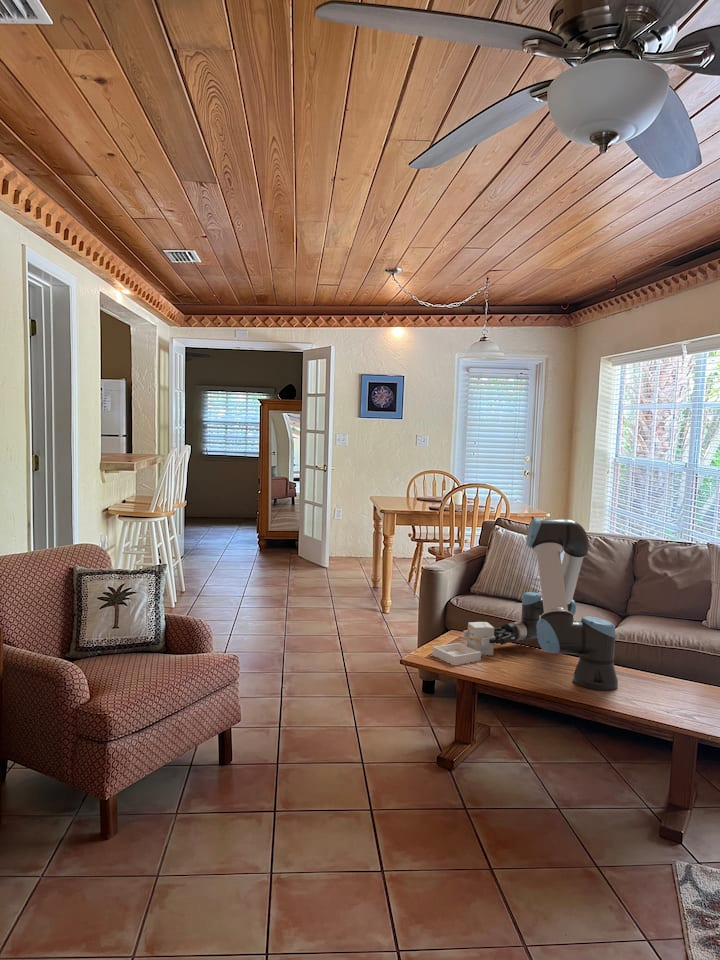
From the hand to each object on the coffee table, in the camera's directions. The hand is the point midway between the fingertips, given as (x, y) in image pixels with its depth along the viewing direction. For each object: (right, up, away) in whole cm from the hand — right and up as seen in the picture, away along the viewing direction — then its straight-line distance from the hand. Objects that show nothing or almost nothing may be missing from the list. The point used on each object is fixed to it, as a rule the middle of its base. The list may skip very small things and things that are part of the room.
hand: (472, 638), depth 265 cm
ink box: (+3, -7, +3) cm, 8 cm away
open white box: (-7, -7, -6) cm, 12 cm away
